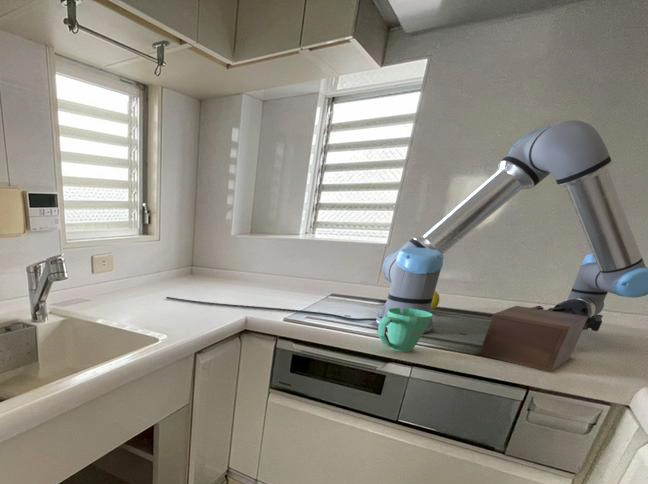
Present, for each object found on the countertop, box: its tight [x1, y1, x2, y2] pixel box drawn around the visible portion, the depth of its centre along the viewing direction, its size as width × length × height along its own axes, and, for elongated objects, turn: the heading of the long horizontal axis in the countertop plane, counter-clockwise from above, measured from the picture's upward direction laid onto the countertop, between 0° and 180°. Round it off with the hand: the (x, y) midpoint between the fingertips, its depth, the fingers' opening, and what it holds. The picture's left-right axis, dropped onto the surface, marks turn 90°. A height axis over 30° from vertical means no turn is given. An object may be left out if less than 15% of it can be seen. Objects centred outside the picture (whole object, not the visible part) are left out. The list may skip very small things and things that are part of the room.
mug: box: [376, 308, 434, 353], centre depth 104 cm, size 15×10×10 cm
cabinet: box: [478, 305, 588, 372], centre depth 99 cm, size 16×14×11 cm
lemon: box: [431, 290, 440, 311], centre depth 144 cm, size 6×6×8 cm
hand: (547, 323), depth 104 cm, fingers closed on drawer, 9 cm apart
